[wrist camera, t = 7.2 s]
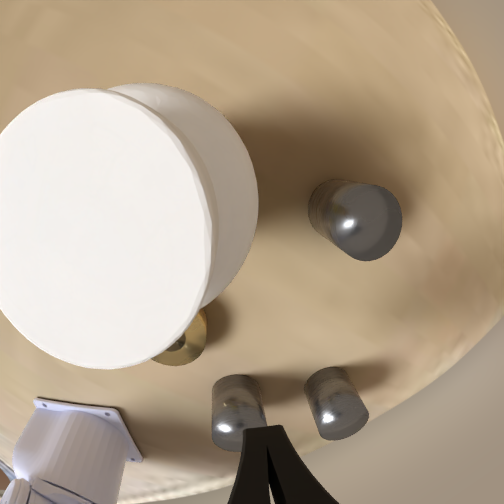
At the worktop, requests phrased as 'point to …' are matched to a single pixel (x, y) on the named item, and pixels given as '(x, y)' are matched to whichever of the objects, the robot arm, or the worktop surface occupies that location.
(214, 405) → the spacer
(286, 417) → the worktop surface
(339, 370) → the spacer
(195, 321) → the nut
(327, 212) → the grey metal cylinder
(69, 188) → the supplement bottle
